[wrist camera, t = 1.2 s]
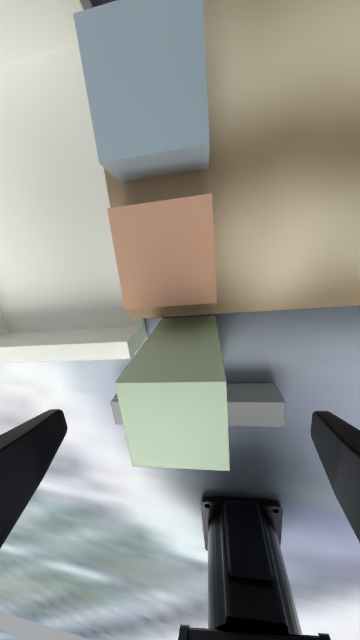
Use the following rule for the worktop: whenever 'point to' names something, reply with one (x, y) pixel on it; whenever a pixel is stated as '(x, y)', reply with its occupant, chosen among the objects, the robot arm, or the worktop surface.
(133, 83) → the tile
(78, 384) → the worktop surface
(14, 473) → the robot arm
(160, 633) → the worktop surface
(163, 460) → the green grey branched block
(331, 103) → the board
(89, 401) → the worktop surface
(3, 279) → the tray
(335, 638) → the worktop surface
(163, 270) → the tile
